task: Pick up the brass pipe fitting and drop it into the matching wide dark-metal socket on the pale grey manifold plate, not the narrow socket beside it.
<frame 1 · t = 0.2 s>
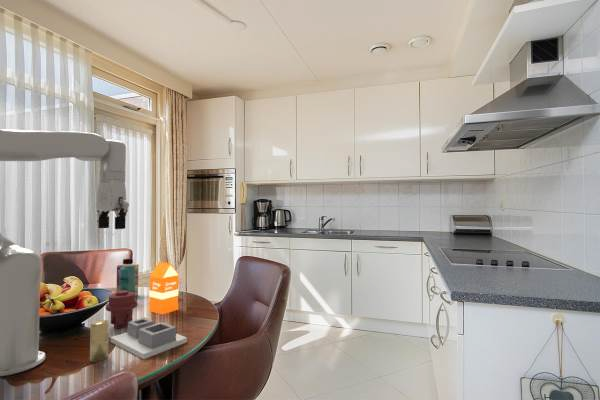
hand: (111, 228, 105), 36 cm above the table, tool pointing down, fingers open, 9 cm apart
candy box: (127, 296, 154), on the table
beverage bottle: (126, 303, 142), on the table
orange juice: (163, 310, 132), on the table
manifold plate: (148, 342, 100), on the table
brass pipe fitting: (99, 358, 89), on the table
mechanical component: (121, 326, 115), on the table
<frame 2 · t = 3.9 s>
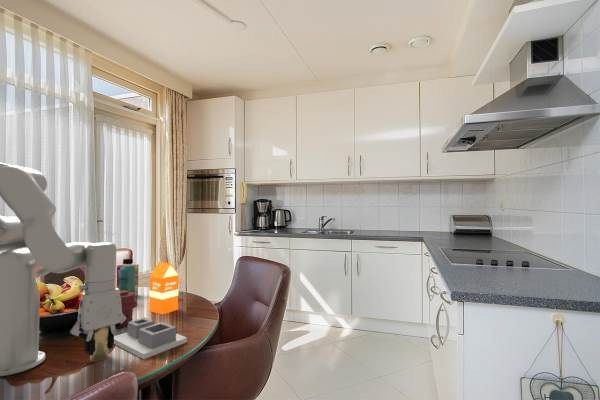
hand: (99, 349, 90), 2 cm above the table, tool pointing down, fingers closed on brass pipe fitting, 4 cm apart
brass pipe fitting: (99, 358, 89), on the table, touching gripper
everything else where it was.
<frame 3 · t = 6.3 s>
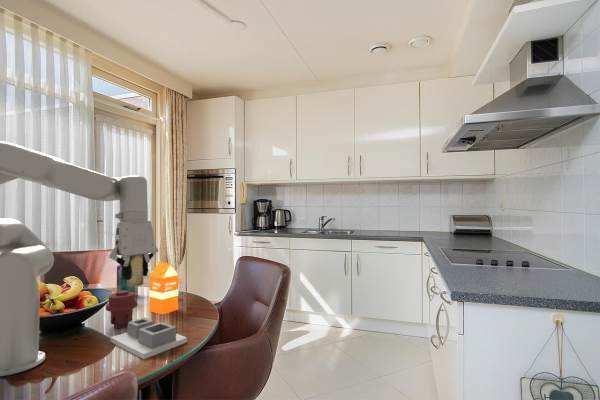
hand: (135, 276, 95), 22 cm above the table, tool pointing down, fingers closed on brass pipe fitting, 4 cm apart
brass pipe fitting: (135, 284, 95), point 20 cm above the table, touching gripper
everything else where it was.
when the fingers open (7 cm above the table, at t = 9.1 s): brass pipe fitting drops 3 cm, resting on manifold plate.
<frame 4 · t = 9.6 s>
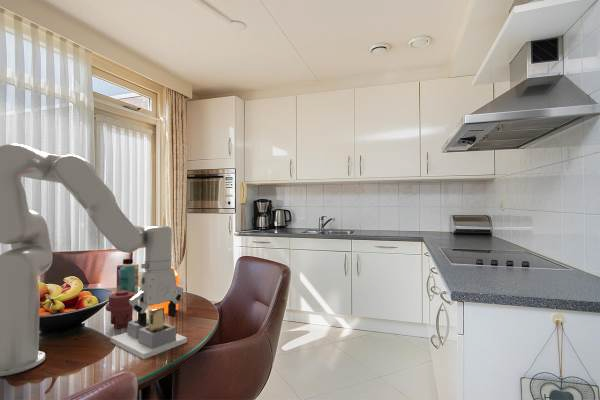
hand: (157, 320, 98), 8 cm above the table, tool pointing down, fingers open, 9 cm apart
brass pipe fitting: (156, 341, 97), point 2 cm above the table, touching manifold plate
everything else where it was.
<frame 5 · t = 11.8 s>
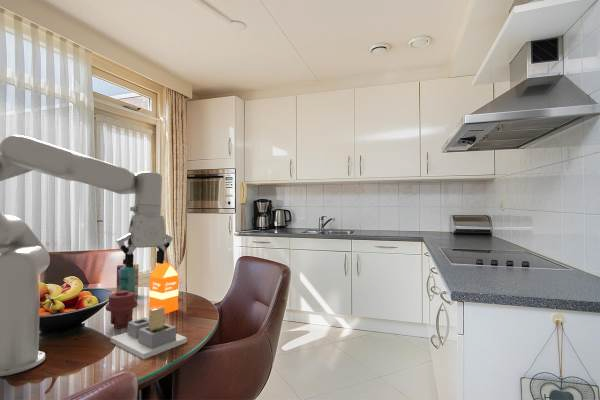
hand: (145, 265, 99), 25 cm above the table, tool pointing down, fingers open, 9 cm apart
nothing on the table moved.
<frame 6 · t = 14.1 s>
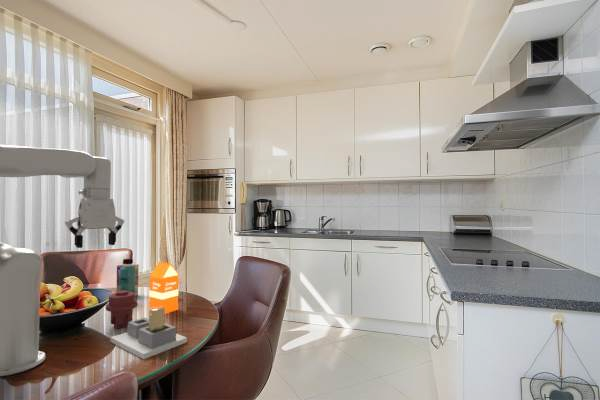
hand: (96, 246, 104), 30 cm above the table, tool pointing down, fingers open, 9 cm apart
nothing on the table moved.
at the end: brass pipe fitting 0.3 cm from the target spot on the manifold plate, point 1.6 cm above the manifold plate's base; brass pipe fitting tilted 1°; the gripper is holding nothing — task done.
